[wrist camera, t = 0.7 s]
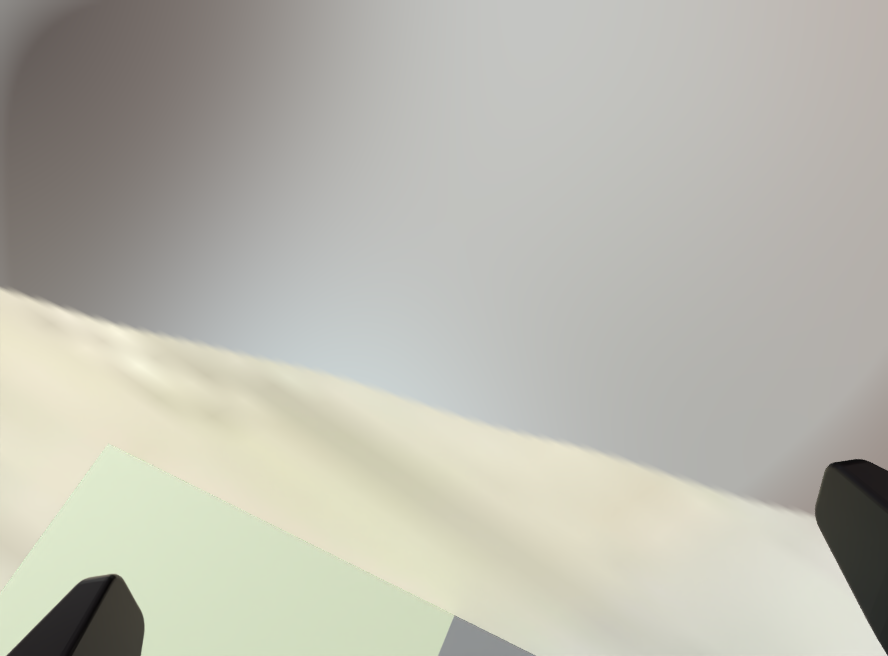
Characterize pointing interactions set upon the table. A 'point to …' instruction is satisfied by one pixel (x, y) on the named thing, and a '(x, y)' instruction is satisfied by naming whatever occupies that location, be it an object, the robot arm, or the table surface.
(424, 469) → the table surface
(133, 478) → the board
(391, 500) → the table surface
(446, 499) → the table surface
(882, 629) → the robot arm
